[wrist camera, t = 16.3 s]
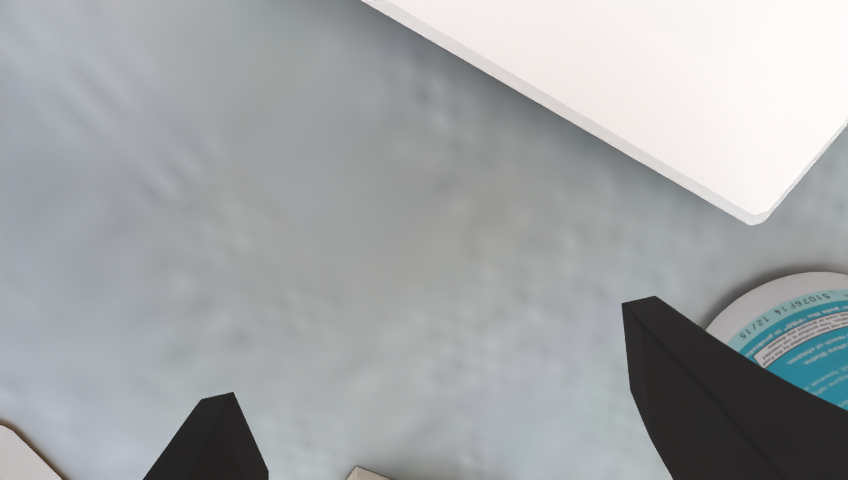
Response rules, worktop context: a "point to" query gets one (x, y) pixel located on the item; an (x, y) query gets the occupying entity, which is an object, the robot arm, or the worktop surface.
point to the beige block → (364, 475)
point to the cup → (21, 460)
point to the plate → (670, 80)
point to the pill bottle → (794, 331)
